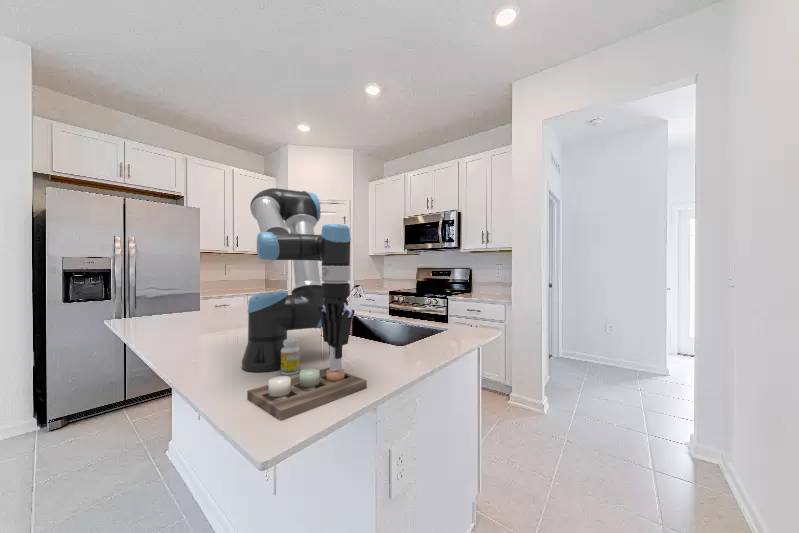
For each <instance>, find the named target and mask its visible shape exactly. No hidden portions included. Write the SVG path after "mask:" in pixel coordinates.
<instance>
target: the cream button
mask: <svg viewBox="0 0 799 533" xmlns="http://www.w3.org/2000/svg"><path fill="white" fill-rule="evenodd" d="M268 385H269V395H270V396H272V397H280V396H283V397H286V396H285V395H287V394H289V393H290V392H291V377H290V376H288V375H284V376H283V375H280V376H275V377H272V378H270V379H268ZM280 398H281V397H280Z"/></svg>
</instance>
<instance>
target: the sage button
mask: <svg viewBox="0 0 799 533" xmlns="http://www.w3.org/2000/svg"><path fill="white" fill-rule="evenodd" d="M320 370H321V369H318V368H315V367H313V368H312V367H311V368H304V369H302V370H300V371H299V376H300V386H303V387H311V388H313V387H312V386H316V385H318V384H319V383H320Z"/></svg>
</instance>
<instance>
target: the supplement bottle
mask: <svg viewBox="0 0 799 533" xmlns="http://www.w3.org/2000/svg"><path fill="white" fill-rule="evenodd" d="M283 346H284V347H283V348H282V349H281V369H280V374H281V375H282V376H283V375H284V376H293V375H297V374H298V373H300V371H301V370H300V368H301V367H300V364H301V363H300V360H301V359H300V353H301V352H300V350H301V349H300V347H299V346H298V339H295V338H287V340H284V341H283Z"/></svg>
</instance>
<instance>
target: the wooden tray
mask: <svg viewBox="0 0 799 533" xmlns="http://www.w3.org/2000/svg"><path fill="white" fill-rule="evenodd" d="M329 369H330V366H329V367H326V368H322V369H319V370H320V383H319V384H318V385H316V386H312V387H303V386H300V375H298V376H295V377H292V378H291V377H290V378H291V392H290V393H289V394H287V395H285V396H280V397H272V396H270V395H269V384H266V385H263V386H259V387H256V388H252V389H249V390H247V391H246V393H247V394H246V396H247V397H246V399H247V400H248V401H250V402H251V403H253V404H254V405H255V406H257V407H259V408H261V409H262V410H264V411H266V412H267V413H269V414H270V415H272V416H273V417H275V418H276V419H278V420H279V421H284V420H286V419H288V418H291V417H294V416H296V415H300V414H302V413H304V412H308V411H309V410H312V409H316V408H317V407H320V406H322V405H326V404H329V403H331V402H333V401H337V400H339V399H341V398H344V397H347V396H349V395H352V394H354V393H358V392H360V391H363V390H365V389H367V388H368V387H367V386H368V384H367V382H368V381H367V379H364V378H361V377H358V376H355V375H353V374H350V373H348V372H345V379H343V380H340V381H337V382H334V383H332V382H330V381H327V380H326V371H327V370H329ZM312 388H313V389H312ZM308 389H311V390H308ZM305 390H308V391H305ZM283 397H286V398H283ZM280 398H282V399H280ZM277 399H280V400H277ZM274 400H276V401H275V402H274Z"/></svg>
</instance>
